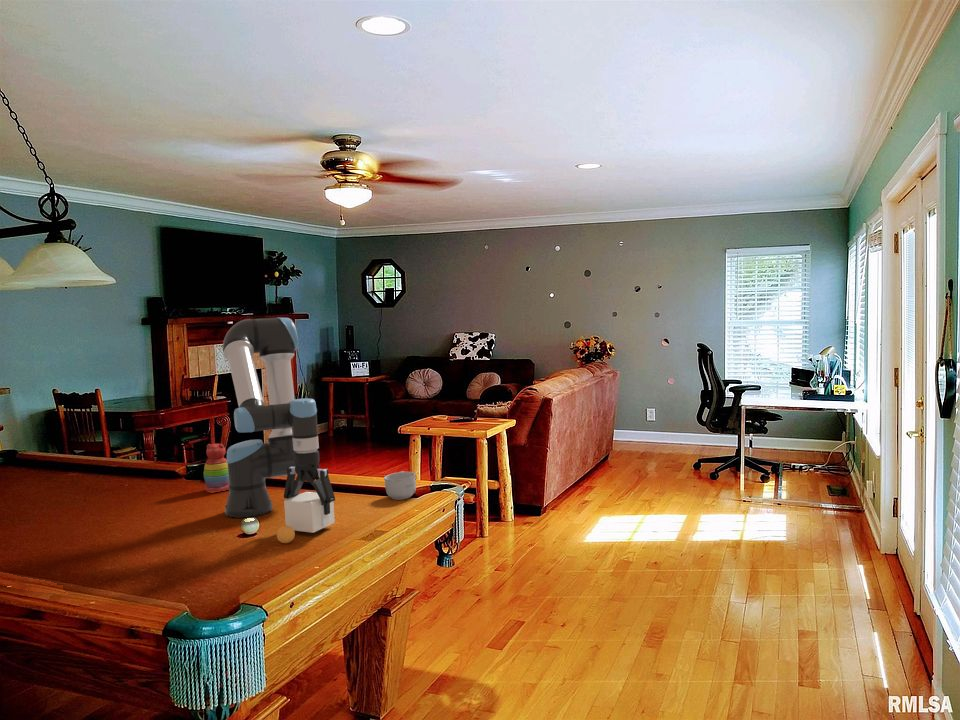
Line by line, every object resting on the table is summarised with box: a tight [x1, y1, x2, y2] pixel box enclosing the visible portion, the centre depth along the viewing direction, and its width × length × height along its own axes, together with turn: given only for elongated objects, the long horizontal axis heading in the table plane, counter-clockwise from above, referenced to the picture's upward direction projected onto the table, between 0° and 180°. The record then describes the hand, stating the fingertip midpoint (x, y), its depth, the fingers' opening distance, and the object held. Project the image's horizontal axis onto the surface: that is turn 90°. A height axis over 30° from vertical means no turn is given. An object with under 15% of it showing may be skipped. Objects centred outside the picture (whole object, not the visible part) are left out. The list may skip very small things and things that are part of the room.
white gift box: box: [283, 491, 336, 534], centre depth 222 cm, size 10×10×9 cm
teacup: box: [383, 470, 417, 501], centre depth 257 cm, size 14×11×8 cm
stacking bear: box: [203, 443, 229, 491], centre depth 277 cm, size 11×10×18 cm
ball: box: [276, 524, 296, 544], centre depth 211 cm, size 5×5×5 cm
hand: (310, 523), depth 222 cm, fingers closed on white gift box, 10 cm apart
